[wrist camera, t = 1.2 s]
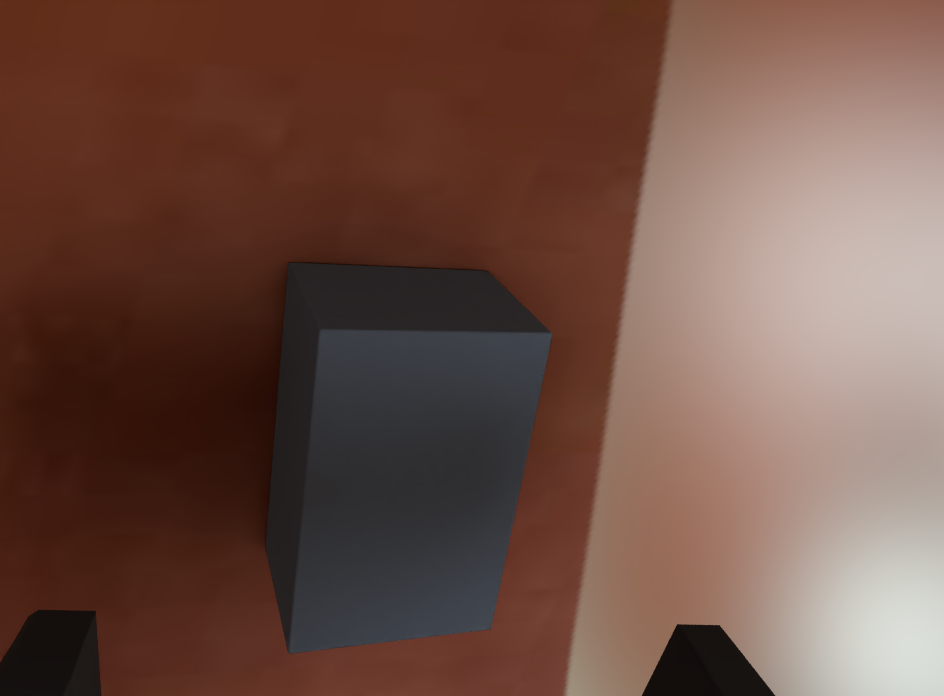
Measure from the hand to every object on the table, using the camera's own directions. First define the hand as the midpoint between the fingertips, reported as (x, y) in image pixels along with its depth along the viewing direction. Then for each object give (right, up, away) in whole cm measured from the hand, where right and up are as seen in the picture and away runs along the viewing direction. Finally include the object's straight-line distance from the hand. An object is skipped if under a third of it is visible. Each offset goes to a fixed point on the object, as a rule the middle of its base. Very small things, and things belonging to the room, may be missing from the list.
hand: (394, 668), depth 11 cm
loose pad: (-2, +2, +11) cm, 12 cm away
